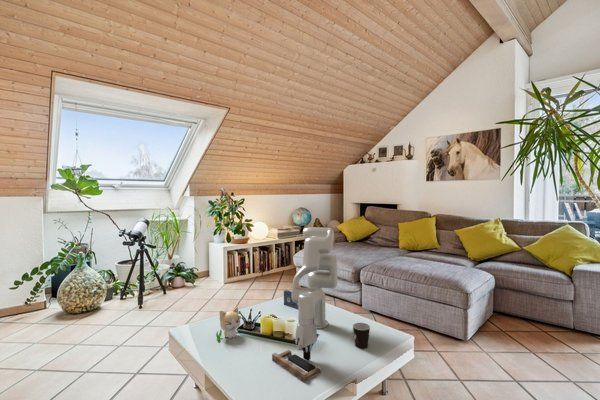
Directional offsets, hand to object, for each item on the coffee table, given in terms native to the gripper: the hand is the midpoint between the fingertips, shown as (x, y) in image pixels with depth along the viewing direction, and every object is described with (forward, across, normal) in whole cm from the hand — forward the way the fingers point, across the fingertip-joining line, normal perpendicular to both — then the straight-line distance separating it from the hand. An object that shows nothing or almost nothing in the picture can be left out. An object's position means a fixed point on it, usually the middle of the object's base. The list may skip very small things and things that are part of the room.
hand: (306, 358), depth 144 cm
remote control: (+2, +4, 0) cm, 4 cm away
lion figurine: (+1, -8, -32) cm, 33 cm away
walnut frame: (+1, +6, 0) cm, 6 cm away
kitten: (+1, +15, -46) cm, 48 cm away
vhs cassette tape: (+1, -38, -53) cm, 65 cm away
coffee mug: (+1, -31, +8) cm, 32 cm away
